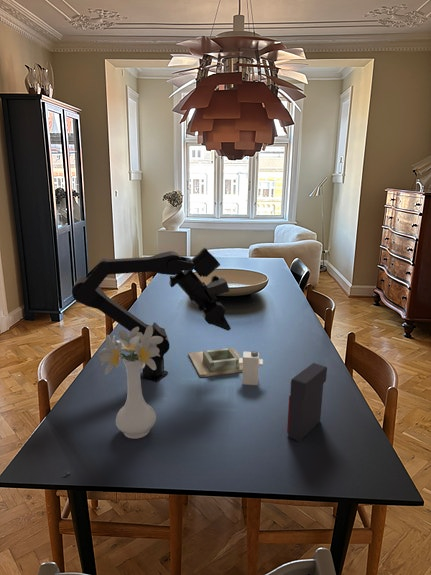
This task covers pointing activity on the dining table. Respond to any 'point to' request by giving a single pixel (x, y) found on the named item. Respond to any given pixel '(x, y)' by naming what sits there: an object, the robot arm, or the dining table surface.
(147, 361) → the flower vase
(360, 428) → the dining table surface
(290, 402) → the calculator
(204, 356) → the plate
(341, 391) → the dining table surface
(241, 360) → the block
